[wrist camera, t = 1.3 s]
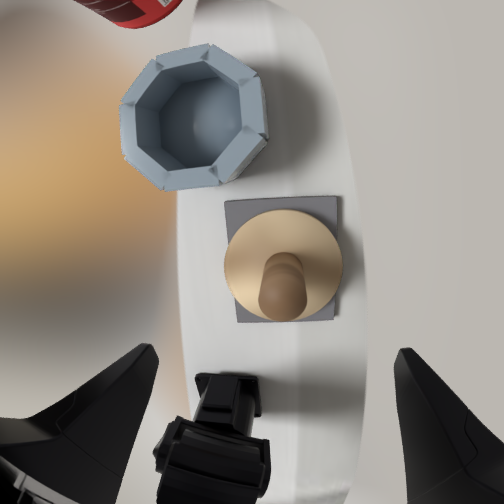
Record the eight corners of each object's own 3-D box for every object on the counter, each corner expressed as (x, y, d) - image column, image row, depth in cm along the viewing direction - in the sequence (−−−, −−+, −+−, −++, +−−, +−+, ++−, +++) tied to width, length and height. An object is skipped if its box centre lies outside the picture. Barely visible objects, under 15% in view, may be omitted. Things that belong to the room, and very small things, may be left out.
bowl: (271, 177, 19) (268, 182, 15) (156, 188, 20) (126, 197, 16) (261, 60, 16) (255, 36, 12) (148, 81, 18) (118, 68, 13)
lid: (337, 312, 22) (349, 354, 16) (233, 315, 23) (219, 357, 17) (340, 206, 19) (360, 223, 14) (221, 212, 20) (198, 230, 15)
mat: (332, 316, 22) (333, 320, 22) (238, 318, 23) (237, 322, 23) (335, 195, 19) (336, 196, 19) (225, 201, 20) (224, 202, 20)
